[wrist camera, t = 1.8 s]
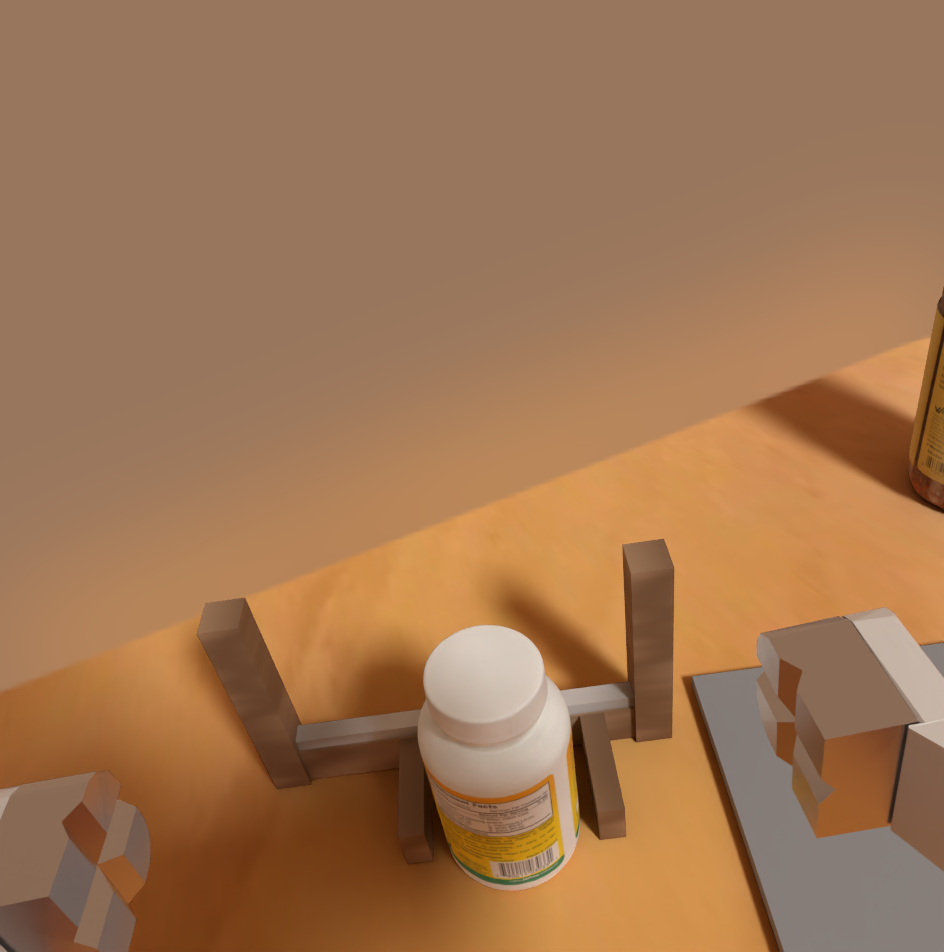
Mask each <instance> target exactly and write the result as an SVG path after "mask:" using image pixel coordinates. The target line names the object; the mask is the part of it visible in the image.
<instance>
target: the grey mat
mask: <svg viewBox="0 0 944 952" xmlns="http://www.w3.org/2000/svg"><path fill="white" fill-rule="evenodd" d="M920 647H921V649H922V650H923V651H924V653H925V654H926V655H927V657H928V658H929V659H930V660H931V662H932V663H933V664H934V666H935V667H936V668H937V670H938V671H939V672H940V673H941V675H942V676H943V677H944V643H939V644H931V645H924V646H920ZM763 672H764V669H763V667H759V668H751V669H744V670H736V671H729V672H721V673H714V674H706V675H699V676H692V687H693V690H694V693H695V696H696V699H697V702H698V705H699V708H700V711H701V714H702V717H703V720H704V723H705V726H706V729H707V732H708V735H709V738H710V741H711V744H712V747H713V751H714V754H715V757H716V760H717V763H718V766H719V769H720V772H721V775H722V778H723V781H724V784H725V787H726V790H727V793H728V796H729V799H730V802H731V805H732V808H733V811H734V814H735V817H736V820H737V823H738V826H739V829H740V832H741V835H742V838H743V841H744V844H745V847H746V850H747V853H748V856H749V860H750V863H751V866H752V869H753V872H754V875H755V878H756V881H757V884H758V887H759V890H760V893H761V896H762V899H763V902H764V905H765V908H766V911H767V914H768V917H769V920H770V923H771V926H772V929H773V932H774V935H775V938H776V941H777V944H778V947H779V950H780V952H944V871H942V870H941V869H940V868H939V867H937V866H936V865H935V864H933V863H932V862H931V861H930V860H928V859H927V858H926V857H925V856H923V855H922V854H921V853H919V852H918V851H917V850H916V849H914V848H913V847H912V846H910V845H909V844H908V843H907V842H905V841H904V840H903V839H901V838H900V837H899V836H898V835H896V834H895V833H894V832H893V831H891V830H890V829H891V826H887V827H881V828H875V829H869V830H863V831H857V832H851V833H846V834H840V835H834V836H828V837H822V838H816V836H815V834H814V832H813V830H812V828H811V826H810V824H809V822H808V820H807V818H806V816H805V814H804V812H803V810H802V808H801V806H800V804H799V802H798V799H797V797H796V795H795V793H794V791H793V789H792V771H793V766H791V765H790V764H788V763H787V762H785V761H784V760H782V759H781V758H779V757H778V756H776V754H775V752H774V750H773V748H772V745H771V743H770V741H769V739H768V737H767V734H766V731H765V728H764V726H763V723H762V720H761V715H760V711H759V706H758V701H757V684H756V680H757V679H758V678H759V676H760V675H761V674H762V673H763Z"/></svg>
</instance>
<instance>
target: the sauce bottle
mask: <svg viewBox="0 0 944 952" xmlns="http://www.w3.org/2000/svg"><path fill="white" fill-rule="evenodd" d="M909 475H910V481H911V483H912V485H913V488H914V490H915V491H916V492H917V493H918V494H919V495H920V496H921V497H923V498H924V499H925V500H926V501H928V502H930V503H932V504H934V505H936V506H938V507H940V508H941V509H943V510H944V289H943V295H942V297H941V298H940V300H939V302H938V305H937V310H936V315H935V320H934V325H933V330H932V335H931V341H930V346H929V351H928V356H927V361H926V366H925V371H924V377H923V382H922V387H921V392H920V397H919V403H918V408H917V413H916V418H915V423H914V429H913V434H912V439H911V444H910V449H909Z"/></svg>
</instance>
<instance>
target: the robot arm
mask: <svg viewBox="0 0 944 952" xmlns="http://www.w3.org/2000/svg"><path fill="white" fill-rule="evenodd" d="M757 657H758V659H759V661H760V663H761V665H762V667H763V669H764V672H763V673H762V674H761V675H760V676H759V678H758V679H757V680H756V684H757V701H758V706H759V711H760V715H761V720H762V723H763V726H764V728H765V731H766V734H767V737H768V739H769V741H770V743H771V745H772V748H773V750H774V752H775V754H776V756H778V757H779V758H781V759H782V760H784V761H785V762H787V763H788V764H790V765H791V766H793V771H792V789H793V791H794V793H795V795H796V797H797V799H798V802H799V804H800V806H801V808H802V810H803V812H804V814H805V816H806V818H807V820H808V822H809V824H810V826H811V828H812V830H813V832H814V834H815V836H816V838H822V837H828V836H834V835H840V834H846V833H851V832H857V831H863V830H869V829H875V828H881V827H887V826H891V829H890V830H891V831H893V832H894V833H895V834H896V835H898V836H899V837H900V838H901V839H903V840H904V841H905V842H907V843H908V844H909V845H910V846H912V847H913V848H914V849H916V850H917V851H918V852H919V853H921V854H922V855H923V856H925V857H926V858H927V859H928V860H930V861H931V862H932V863H933V864H935V865H936V866H937V867H939V868H940V869H941V870H942V871H944V677H943V676H942V675H941V673H940V672H939V671H938V670H937V668H936V667H935V666H934V664H933V663H932V662H931V660H930V659H929V658H928V657H927V655H926V654H925V653H924V651H923V650H922V649H921V647H920V646H919V645H918V644H917V642H916V641H915V640H914V638H913V637H912V636H911V634H910V633H909V632H908V630H907V629H906V628H905V627H904V625H903V624H902V623H901V621H900V620H899V619H898V617H897V616H896V615H895V614H894V612H892V611H890V610H889V609H887V608H885V607H883V608H879V609H874V610H869V611H864V612H859V613H855V614H850V615H845V616H842V617H839V616H837V617H833V618H828V619H823V620H819V621H814V622H810V623H805V624H801V625H796V626H792V627H787V628H782V629H778V630H773V631H769V632H764V633H760V635H759V637H758V640H757ZM120 788H121V785H120V784H119V782H118V781H117V780H116V779H115V778H114V776H113V775H112V774H111V773H110V771H109V770H104V771H96V772H90V773H84V774H79V775H73V776H68V777H62V778H56V779H51V780H45V781H40V782H34V783H28V784H23V785H19V786H14V787H8V788H3V789H0V952H128V951H129V947H130V943H131V939H132V935H133V931H134V927H135V923H136V917H135V915H134V913H133V911H132V909H131V907H130V905H129V902H130V901H131V900H132V899H133V898H134V896H135V895H136V894H137V893H138V891H139V890H140V889H141V888H142V886H143V885H144V884H145V882H146V878H147V873H148V869H149V864H150V860H151V857H150V834H149V831H148V828H147V825H146V821H145V819H144V817H143V816H142V814H141V813H140V811H139V810H138V808H137V807H136V806H133V805H131V804H128V803H126V802H124V801H121V800H119V799H117V798H118V795H119V791H120Z"/></svg>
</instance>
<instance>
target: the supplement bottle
mask: <svg viewBox="0 0 944 952" xmlns="http://www.w3.org/2000/svg"><path fill="white" fill-rule="evenodd" d="M423 686H424V691H425V696H426V700H425V702H424V704H423V707H422V709H421V712H420V716H419V721H418V744H419V748H420V753H421V756H422V760H423V763H424V766H425V770H426V773H427V776H428V779H429V783H430V786H431V789H432V793H433V796H434V799H435V803H436V806H437V810H438V813H439V816H440V819H441V823H442V826H443V829H444V833H445V836H446V840H447V842H448V845H449V848H450V851H451V853H452V856H453V858H454V859H455V861H456V862H457V864H458V865H459V866H460V868H461V869H462V870H463V871H464V872H465V873H466V874H467V875H468V876H470V877H471V878H472V879H474V880H476V881H477V882H479V883H481V884H483V885H485V886H487V887H490V888H494V889H498V890H510V891H516V890H524V889H528V888H532V887H535V886H537V885H540V884H542V883H544V882H546V881H547V880H549V879H551V878H552V877H553V876H555V875H556V874H557V873H558V872H559V871H560V870H561V869H562V868H563V867H564V866H565V865H566V863H567V862H568V860H569V859H570V857H571V856H572V854H573V852H574V850H575V847H576V844H577V841H578V837H579V831H580V812H579V803H578V792H577V784H576V774H575V762H574V753H573V741H572V728H571V722H570V716H569V711H568V707H567V705H566V702H565V699H564V697H563V695H562V693H561V692H560V690H559V689H558V687H557V686H556V685H555V684H554V682H553V681H552V680H551V679H550V678H549V677H548V676H546V675H545V670H544V664H543V660H542V657H541V655H540V652H539V650H538V649H537V647H536V646H535V645H534V644H533V642H532V641H530V639H528V638H527V637H526V636H525V635H523V634H521V633H520V632H518V631H515V630H513V629H510V628H507V627H503V626H496V625H479V626H474V627H469V628H466V629H463V630H460V631H458V632H456V633H454V634H452V635H450V636H449V637H447V638H446V639H444V640H443V641H442V642H441V643H440V644H439V645H438V646H437V647H436V648H435V649H434V650H433V652H432V653H431V655H430V656H429V658H428V660H427V662H426V665H425V668H424V674H423Z"/></svg>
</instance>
